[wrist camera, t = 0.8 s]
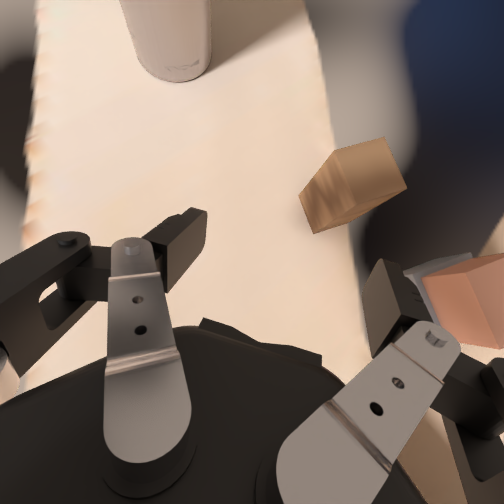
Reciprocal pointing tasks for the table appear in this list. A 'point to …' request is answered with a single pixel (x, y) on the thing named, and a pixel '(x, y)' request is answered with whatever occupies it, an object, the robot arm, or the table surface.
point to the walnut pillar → (351, 184)
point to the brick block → (470, 300)
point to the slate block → (429, 268)
